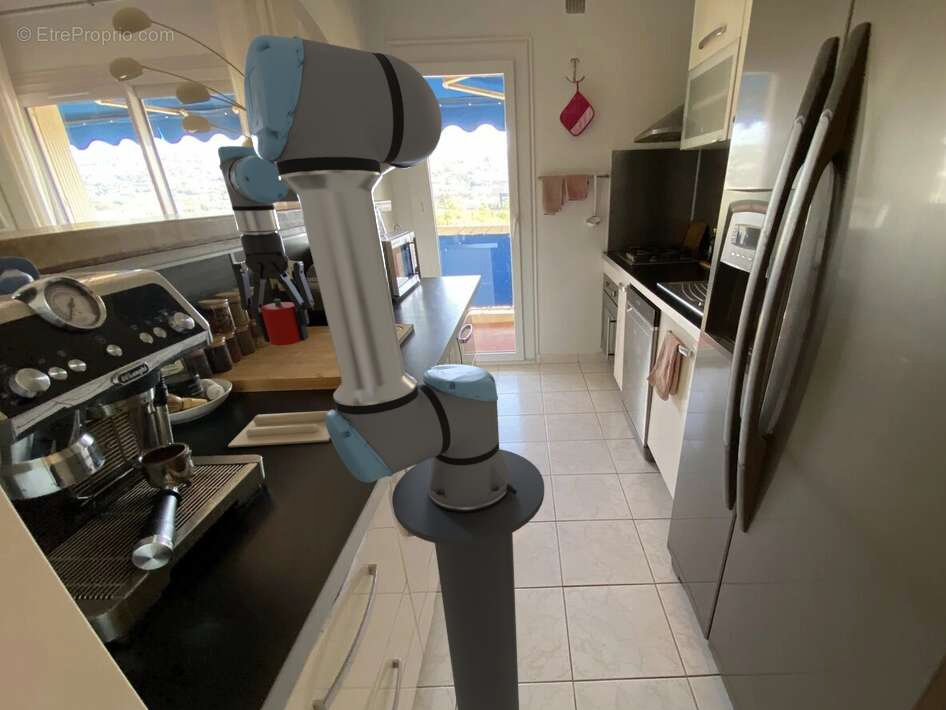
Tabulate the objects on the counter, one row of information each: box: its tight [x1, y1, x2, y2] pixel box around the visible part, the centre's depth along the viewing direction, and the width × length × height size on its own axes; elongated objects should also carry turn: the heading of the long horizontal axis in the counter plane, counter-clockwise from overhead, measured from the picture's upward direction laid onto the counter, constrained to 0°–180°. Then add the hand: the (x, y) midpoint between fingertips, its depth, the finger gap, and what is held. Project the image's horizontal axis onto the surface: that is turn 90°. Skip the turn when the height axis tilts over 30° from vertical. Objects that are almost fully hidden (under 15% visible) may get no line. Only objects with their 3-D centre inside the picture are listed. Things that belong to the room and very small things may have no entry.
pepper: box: [261, 298, 302, 346], centre depth 100 cm, size 7×7×9 cm
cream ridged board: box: [227, 410, 331, 448], centre depth 99 cm, size 20×14×2 cm
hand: (287, 339), depth 102 cm, fingers closed on pepper, 7 cm apart
